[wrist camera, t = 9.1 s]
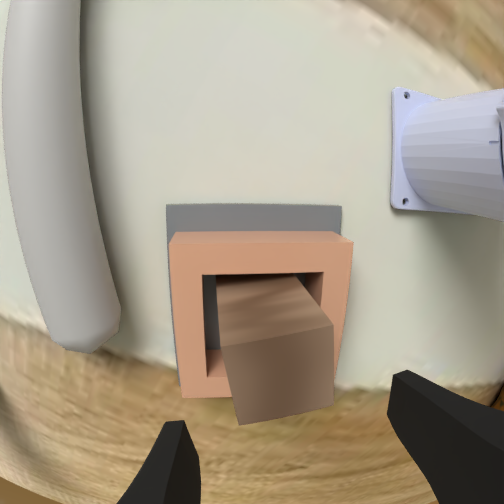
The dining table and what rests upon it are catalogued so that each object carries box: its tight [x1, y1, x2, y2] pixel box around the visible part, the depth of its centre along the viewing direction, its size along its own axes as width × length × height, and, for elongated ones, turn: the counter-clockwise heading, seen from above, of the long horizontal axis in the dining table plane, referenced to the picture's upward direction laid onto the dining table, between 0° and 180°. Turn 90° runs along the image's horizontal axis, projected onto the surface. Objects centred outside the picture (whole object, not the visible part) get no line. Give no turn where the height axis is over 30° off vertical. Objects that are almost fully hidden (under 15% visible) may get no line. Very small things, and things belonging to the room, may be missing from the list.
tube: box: [2, 0, 121, 354], centre depth 13 cm, size 5×5×25 cm
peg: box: [216, 273, 334, 425], centre depth 15 cm, size 4×4×8 cm
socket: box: [166, 203, 354, 398], centre depth 18 cm, size 10×12×3 cm
